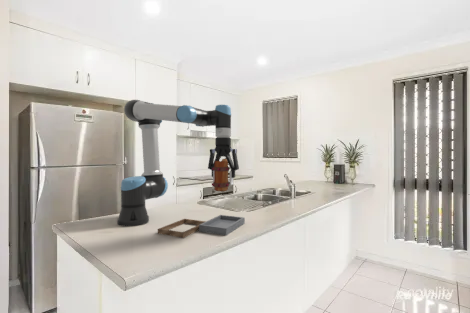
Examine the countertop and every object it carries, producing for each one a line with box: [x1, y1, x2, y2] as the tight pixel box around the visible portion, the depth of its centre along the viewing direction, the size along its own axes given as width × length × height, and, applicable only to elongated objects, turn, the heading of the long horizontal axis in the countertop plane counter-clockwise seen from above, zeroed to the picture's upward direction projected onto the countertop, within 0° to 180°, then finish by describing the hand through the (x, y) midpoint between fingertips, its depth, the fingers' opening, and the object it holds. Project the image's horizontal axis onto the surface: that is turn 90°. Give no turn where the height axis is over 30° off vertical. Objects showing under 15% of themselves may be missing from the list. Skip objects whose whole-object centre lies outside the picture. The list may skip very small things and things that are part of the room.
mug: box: [211, 158, 231, 192], centre depth 122 cm, size 15×8×15 cm, turn 168°
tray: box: [198, 214, 246, 236], centre depth 122 cm, size 14×21×3 cm, turn 156°
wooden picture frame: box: [157, 218, 207, 239], centre depth 118 cm, size 14×20×2 cm
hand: (223, 184), depth 122 cm, fingers closed on mug, 8 cm apart
